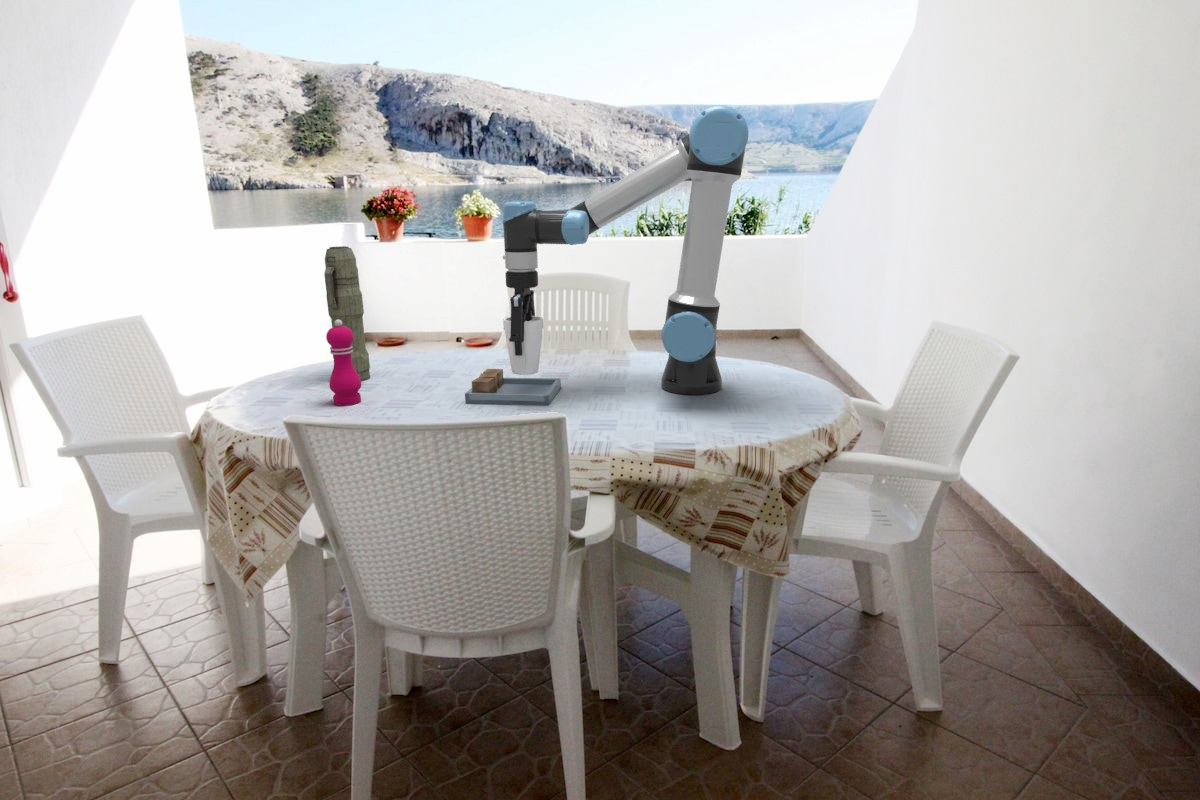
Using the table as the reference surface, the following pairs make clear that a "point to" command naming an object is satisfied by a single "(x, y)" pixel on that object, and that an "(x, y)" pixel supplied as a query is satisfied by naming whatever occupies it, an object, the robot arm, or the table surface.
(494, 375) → the block
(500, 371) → the block
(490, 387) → the block
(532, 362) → the foam cup
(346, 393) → the pepper mill
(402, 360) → the table surface
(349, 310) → the carved stone statue
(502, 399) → the tray
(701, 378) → the robot arm
